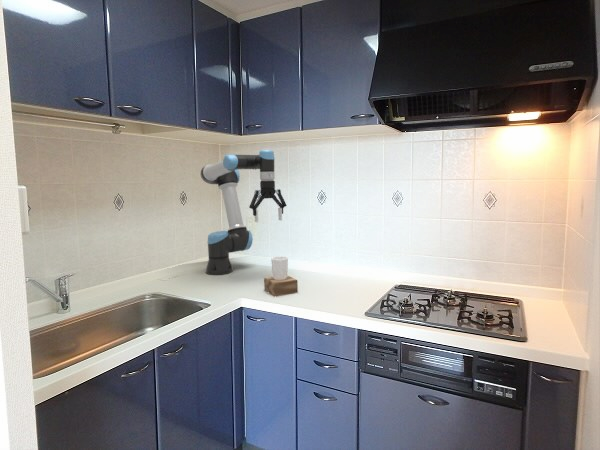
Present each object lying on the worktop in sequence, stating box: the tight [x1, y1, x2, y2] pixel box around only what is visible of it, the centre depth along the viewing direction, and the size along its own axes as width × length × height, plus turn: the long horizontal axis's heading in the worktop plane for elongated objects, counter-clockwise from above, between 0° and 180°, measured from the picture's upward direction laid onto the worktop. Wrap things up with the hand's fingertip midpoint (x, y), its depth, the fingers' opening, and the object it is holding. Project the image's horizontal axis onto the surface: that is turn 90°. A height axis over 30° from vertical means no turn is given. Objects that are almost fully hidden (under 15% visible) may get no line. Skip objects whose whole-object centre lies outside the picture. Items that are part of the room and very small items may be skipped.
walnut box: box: [263, 274, 299, 297], centre depth 186 cm, size 12×12×6 cm
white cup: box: [271, 255, 289, 280], centre depth 186 cm, size 8×8×10 cm
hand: (268, 221), depth 203 cm, fingers open, 13 cm apart
